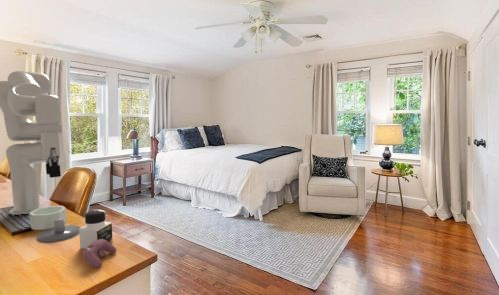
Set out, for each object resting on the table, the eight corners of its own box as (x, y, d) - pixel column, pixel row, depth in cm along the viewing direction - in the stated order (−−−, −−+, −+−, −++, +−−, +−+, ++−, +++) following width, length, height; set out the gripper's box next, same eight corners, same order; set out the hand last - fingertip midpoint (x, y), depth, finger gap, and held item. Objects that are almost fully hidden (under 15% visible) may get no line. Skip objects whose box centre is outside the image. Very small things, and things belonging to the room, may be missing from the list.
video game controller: (106, 256, 90) (96, 238, 89) (118, 250, 89) (108, 232, 89) (88, 273, 80) (76, 253, 79) (101, 267, 79) (89, 246, 79)
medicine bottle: (98, 251, 90) (96, 215, 89) (79, 248, 91) (77, 214, 90) (113, 241, 97) (111, 208, 96) (95, 239, 98) (93, 207, 97)
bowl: (27, 224, 111) (26, 210, 110) (61, 217, 120) (60, 204, 119) (35, 232, 104) (34, 217, 103) (70, 223, 112) (69, 209, 112)
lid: (33, 235, 102) (32, 220, 101) (73, 225, 112) (72, 211, 111) (43, 246, 93) (42, 229, 93) (86, 234, 103) (85, 219, 103)
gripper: (34, 129, 104) (38, 174, 105) (38, 129, 91) (43, 180, 92) (58, 129, 109) (62, 171, 110) (65, 128, 96) (69, 176, 97)
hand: (53, 175), depth 101 cm, fingers open, 9 cm apart
